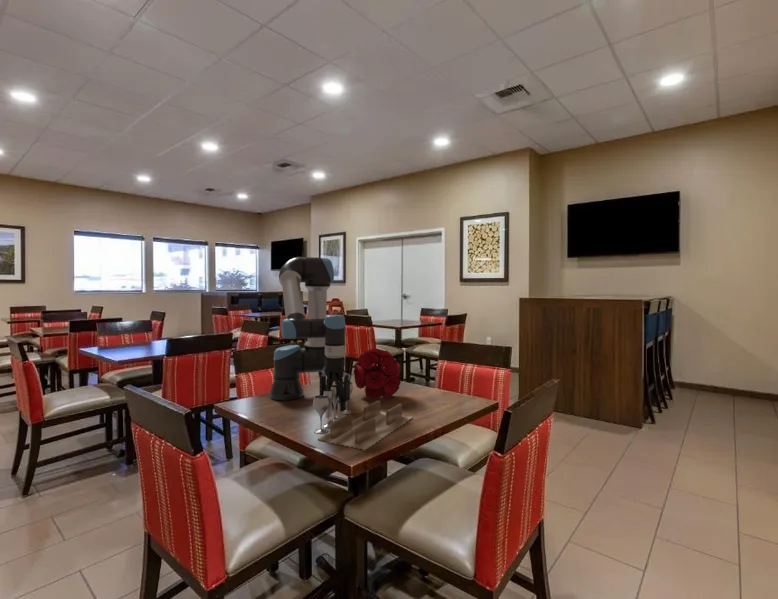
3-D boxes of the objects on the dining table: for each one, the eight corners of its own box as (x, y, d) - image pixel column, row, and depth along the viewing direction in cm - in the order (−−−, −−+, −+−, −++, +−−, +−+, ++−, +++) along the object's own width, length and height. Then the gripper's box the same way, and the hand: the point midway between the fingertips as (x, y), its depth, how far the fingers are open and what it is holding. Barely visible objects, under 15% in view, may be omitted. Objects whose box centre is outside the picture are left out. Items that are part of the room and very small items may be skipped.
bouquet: (352, 405, 199) (350, 387, 172) (357, 359, 210) (356, 336, 184) (396, 408, 199) (401, 391, 173) (398, 362, 210) (403, 340, 184)
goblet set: (342, 410, 167) (342, 377, 166) (355, 411, 165) (355, 378, 165) (309, 433, 140) (309, 394, 140) (324, 435, 138) (325, 396, 138)
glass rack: (317, 440, 133) (317, 423, 133) (372, 411, 165) (372, 398, 165) (364, 450, 125) (365, 432, 125) (412, 418, 157) (412, 404, 157)
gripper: (309, 355, 152) (309, 417, 153) (349, 359, 144) (349, 424, 145) (321, 353, 159) (321, 412, 160) (360, 356, 151) (360, 419, 151)
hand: (334, 418), depth 152 cm, fingers closed on goblet set, 5 cm apart
